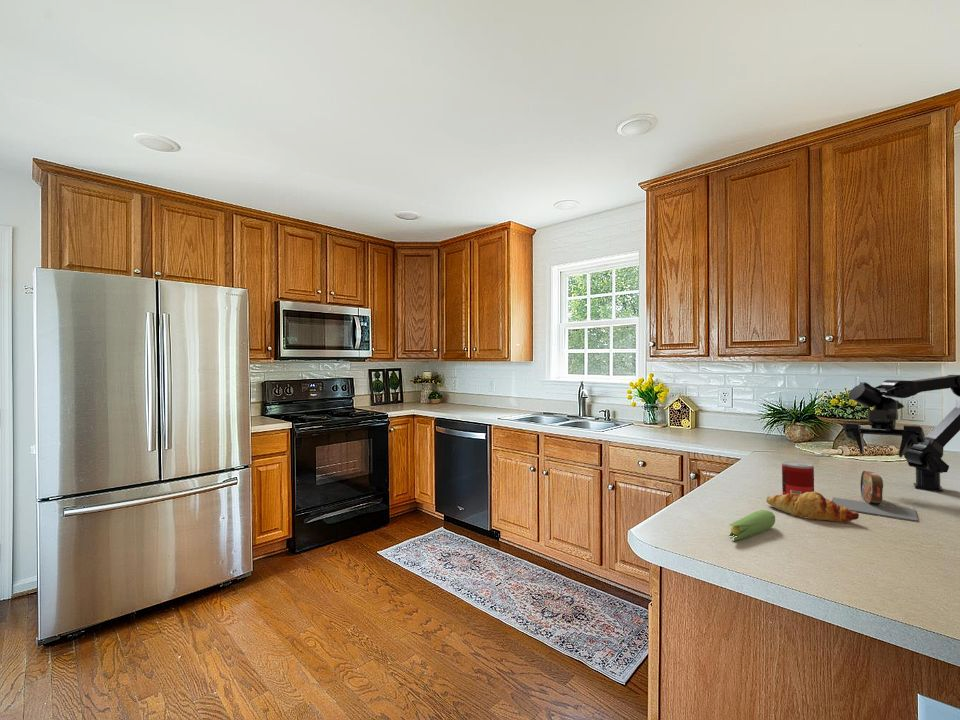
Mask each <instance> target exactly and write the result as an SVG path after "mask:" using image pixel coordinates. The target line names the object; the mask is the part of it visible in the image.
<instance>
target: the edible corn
mask: <svg viewBox="0 0 960 720" xmlns="http://www.w3.org/2000/svg"><path fill="white" fill-rule="evenodd" d="M775 524H776V515H775V514H774V512H772V511H771V510H766V509H759V510H756V511H754V512H751V513H749V514H748V515H746V516H744V517H742V518H739V519H738V520H736V521H734V522H732V523H730V524H729V526H730V533H729V535H728V537H729V536H733V535H734V536H733V537H735V536H737V537H735V538H734V542H736V540H737V541H739V540H741V539H746V538H749V537H751V535H752V536H755V535H758V534H760V533H761V532H762V533H764V531H765V532H767V531H769V530H771V529H772V528H773V526H774V525H775ZM757 533H758V534H757ZM762 533H761V534H762ZM754 534H755V535H754ZM748 536H749V537H748ZM745 537H746V538H745Z"/></svg>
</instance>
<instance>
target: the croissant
mask: <svg viewBox="0 0 960 720" xmlns="http://www.w3.org/2000/svg"><path fill="white" fill-rule="evenodd" d="M766 503H767V504H768V505H770V506H771V507H773V508H775V509H777V510H780V511H782V512H784V513H786V514H789V513H790V515H792V516H794V517H799V516H802V517H801V518H804V517H807V518H806V519H809V518H811V519H810V520H815V519H816V520H815V521H818V520H819V521H828V520H829V521H828V522H837V523H839V522H840V523H843V522H844V523H845V522H846V523H848V522H852V521H854V520H855V521H856V520H858V519H859V516H860V515H859V514H860V513H859V512H855V511H850V510H849V509H848V508H846V507H843V506H838V505H837V504H835V502H833V501H832V500H831V499H828V498H826V497H825V496H823V495H822V493H820V492H816V491H815V490H814V492H806V493H804V494H797V493H796V494H795V493H789V494H786V495H783V494H775V495H773V496H767V497H766Z"/></svg>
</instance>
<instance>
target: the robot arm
mask: <svg viewBox="0 0 960 720" xmlns="http://www.w3.org/2000/svg"><path fill="white" fill-rule="evenodd" d="M946 389H950V390H951V392H952V393H953V394H954V395H955V396H957V397H956V398H955V407H954V408H953V409H951V410H950V412H949V413H948V414H947V415H946V416H945V417H944V418H943V419H942V420H941V421H939V423H938V424H937V425H936V426H935V427H934V428H933V429H932V430H931V431H930V432H929V433H928V434H927V435H925V433H924V430H923V427H922V426H920V425H911V424H910V425H909V424H908V425H907V424H906V425H903V429H896V426H897V425H896V424H897V421H898V420H899V413H898V412H899V411H898V410H900V409H903V408H905V406H904V404H903V403H901V402H900V401H899V400H898V398H899V399H907V398H910V397H913V396H916V395H918V394H920V393H923V392H931V391H937V390H946ZM848 398H849V399H850V400H852V401H854V402H856V403H858V404H859V405H862V406H863V407H865V408H871V407H873V409H868V410H867V420H868V425H869V426H871V427H862V425H861V424H860V423H856V422H855V423H854V422H847V423H845V424H844V425H843V431H844V432H845V435H846V437H847V438H848V439H851V440H852V441H855V442H856V443H857V446H858V450H859V453H860V454H861V455H863V454H864V449H865V447H864V446H865V440H864V435H874V436H875V435H877V436H891V437H901V441H900V447H899V451H898V457H899V458H903V456H904V459H905V460H906V462H907V464H908V466H909V467H912V468H915V482H913V486H914V489H920V490H926V491H927V490H929V491H937V492H944V489H943V487H942V486H941V474H943V473H948V472H949V469H950V465H949V464H948V463H946V462H945V460H943V459H942V458H943V456H944V448H945V446H946V445H947V444H948V443H949V442H950V441H952V439H953V438H954V437H955V436H956V435H957V434H958V433H959V432H960V374H948V375H944V376H937V377H929V378H921V379H915V380H914V379H913V380H902V379H901V380H899V379H898V380H897V379H895V380H894V379H885V380H883V381H882V382H881V384H880V385H877V386H875V387H874V386H871V384H869V383H868V382H864V381H863V382H862V381H861V382H860V383H859V384H858V385H856V386H854V387H853V388H852V389H851V390H849V392H848ZM893 398H897V400H896V399H893Z"/></svg>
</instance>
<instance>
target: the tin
mask: <svg viewBox="0 0 960 720" xmlns="http://www.w3.org/2000/svg"><path fill="white" fill-rule="evenodd" d="M883 489H884V480H883V477H881V476H880V475H878V474H877V473H876V472H873V471H867V470H863V471H862V472H861V476H860V495H861V497H862V499H863V500H865V502H868V503H873V504H882V502H883V492H884V491H883Z"/></svg>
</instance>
